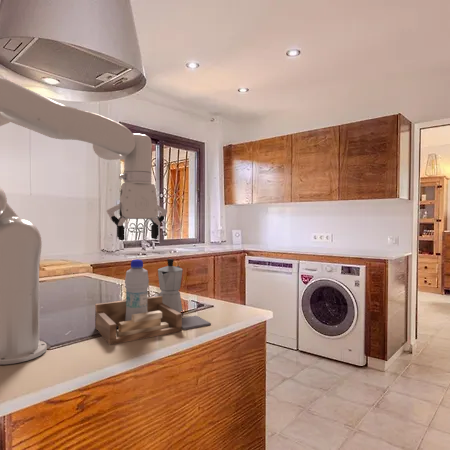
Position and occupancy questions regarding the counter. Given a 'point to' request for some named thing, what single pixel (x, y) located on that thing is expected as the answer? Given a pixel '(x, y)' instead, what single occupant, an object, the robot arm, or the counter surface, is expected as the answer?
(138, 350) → the counter surface
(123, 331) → the offcut stack
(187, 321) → the mat
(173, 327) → the rack
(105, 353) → the counter surface
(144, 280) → the bottle
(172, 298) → the coffee maker
